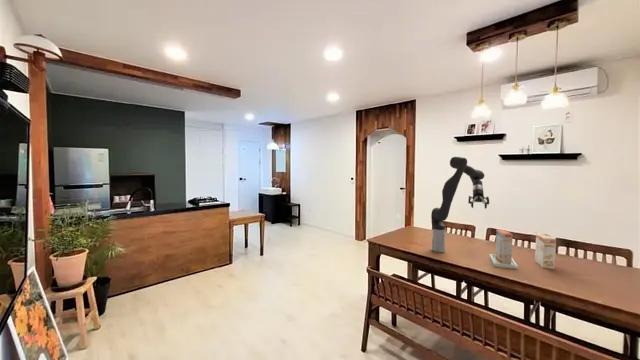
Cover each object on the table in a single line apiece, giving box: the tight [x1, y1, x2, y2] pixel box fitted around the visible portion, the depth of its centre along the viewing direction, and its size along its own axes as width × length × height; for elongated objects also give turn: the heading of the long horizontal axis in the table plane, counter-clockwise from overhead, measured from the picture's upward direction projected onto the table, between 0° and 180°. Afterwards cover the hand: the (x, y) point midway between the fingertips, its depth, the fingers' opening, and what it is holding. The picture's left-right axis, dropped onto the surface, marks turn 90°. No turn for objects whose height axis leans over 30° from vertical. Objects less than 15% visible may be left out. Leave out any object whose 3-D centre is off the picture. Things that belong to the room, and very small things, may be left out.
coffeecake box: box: [534, 233, 557, 270], centre depth 199 cm, size 15×7×20 cm, turn 160°
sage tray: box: [488, 253, 519, 270], centre depth 203 cm, size 13×21×2 cm, turn 157°
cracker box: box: [495, 229, 514, 265], centre depth 203 cm, size 14×6×21 cm, turn 166°
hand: (479, 207), depth 228 cm, fingers open, 8 cm apart
